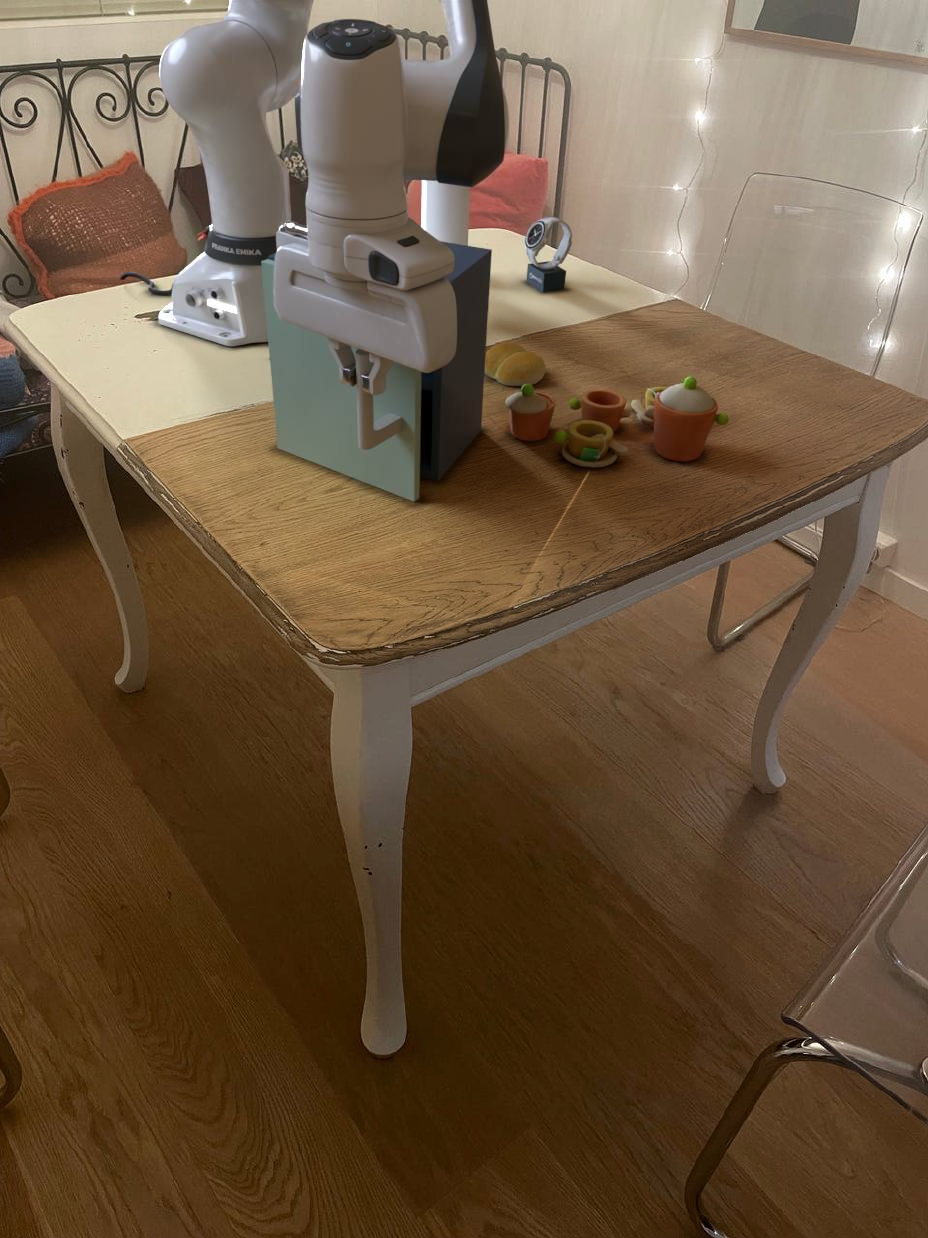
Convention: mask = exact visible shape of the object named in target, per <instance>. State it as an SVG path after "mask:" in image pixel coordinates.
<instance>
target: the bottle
mask: <svg viewBox="0 0 928 1238" xmlns="http://www.w3.org/2000/svg"><path fill="white" fill-rule="evenodd" d="M470 207H471V187H465V186H458V185H450V184H443V183H438V181H425V180H421V218H420V219H421V220H420V221H421V224H420V226H421V227H422V228H423V229H424V230H425V231H427V232H428V233H429V234H430V235H432V236H433V237H434V238H436V239H437V240H439V241H441V242H447V243H454V244H460V245H466V246H469V229H470V228H469V227H470V226H469V225H470Z"/></svg>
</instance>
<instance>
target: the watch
mask: <svg viewBox="0 0 928 1238" xmlns="http://www.w3.org/2000/svg"><path fill="white" fill-rule="evenodd" d="M555 223H559V224H560V225H561V226H562V229H563V237H562V239H561V241H560V243H559V244H558V245H559V246H558V248H557V249H556V251H555V253H554V255H553V259H551V260H550V261H549V260H547V261H540V262H538V261H537V259H536V258H537V256H538V255H539V253H540V251H541V250H543V248H545V246H546V245H547V244H549V240H550V236H551V231H552V229H553V227H554V225H555ZM572 241H573V232H572V229H571V227H570V225H569V224H568V223H567V222H566V221H563V220H562V219H560V218H558V217H555V216H546V217H544V218H541V219H538V220H536V221H535V222H533V223H531V225H530V227H528V230H527V231H526V233H525V236H524V246H525V252H526V256H527V258H528V260H529V262H531V263H527V268H526V269H527V270H526V280H525V281H526V284H529V285H530V286H532V287H533V288H535V289H536V290H537V291H538V290H539V292H541V293H549V292H556V291H557V292H558V291H563V290H565V286H566V277H567V270H565V269H564V268H563V267H560V265H563V262H564V261H565V259H566V258H567V256H568V255H569V253H570V250H571V247H572V244H573V242H572Z"/></svg>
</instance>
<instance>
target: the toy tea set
mask: <svg viewBox="0 0 928 1238" xmlns="http://www.w3.org/2000/svg"><path fill="white" fill-rule="evenodd" d="M644 395H645V398H644V401H645V403H644V404H643V402H642V401H641V400H639V399H632V400H631V403H630V406H631V408H632V409H633V410H634V411H635V412H636V416H637V418H638V420H639V422H641V423H643V424H644V425H646V426H648V427H651V428H653V449H654V451H655V453H656V454H657V455H659V456H660V457H662V458H664V459H666V460H669V461H673V462H691V461H694V460H697V458H699V457H700V456H701V454H702V452H703V450H704V447H705V445H706V442H707V439H708V437H709V434H710V432H711V429H712V426H713V424H714V422H716V424H717V425H718V426H722V427H723V426H725V425H728V423H729V421H730V416H729V415H728V414H727V413H726V412H720V413H718V410H719V405H718V402H717V400H716V399H715V398H714V397H712V396H711V394H710V393H709V392H708V391H707V390H706V389H704V388H703V387H701V386H700V385H698V382H697V379H696V378H695V377H694V376H687V377H686V378H685V379H684V381H683V382H680V383H676V384H674V385H671V386H654V387H651V388H646V391H645V394H644ZM504 403H505V406H506V407H507V409H508V412H509V425H510V433H511V434H512V436H513V437H514V438H516V439H518V440H521V441H525V442H537V441H540V440H543V439H545V438H546V437H547V436H548V433H549V430H550V426H551V422H552V419H553V416H554V413H555V409H556V408H555V407H556V404H557V402H556V399H555V398H554V397H553V396H552V395H550V394H547V393H545V392H541V391H538V390H537V391H536V390H535V387H534V386H533V384H532V385H531V384H524V385H523V386H521V388H520V391H517V392H514V393H512V394H510V396H508V397H507V398H506V400H505V402H504ZM626 404H627V399H626V397H625V395H624V394H621V393H620V392H618V391H615V390H611V389H606V388H594V389H593V388H591V389H588V390H585V391H583V392H582V394H581V396H580V399H579V398H578V397H574V398H571V399H570V400H569V402H568V407H569V409H570V410H572V411H577V410H580V409H581V419H580V420H577V421H574V422H572V423H570V424H569V426H568V428H567V432H566V430H561V429H560V430H557V431H556V432H555V433H554V441H555V442H556V443H557V444H562V447H561V455H562V457H563V458H564V459H565V460H566V461H568V463H569V462H570V463H571V464H574V465H576V466H580V467H585V468H602V467H603V468H604V467H606V466H610V465H611V464H613V463H614V462H615V461H616V460H617V458H618V457H622V456H626V455H627V450H628V449H627V447H626V446H624V445H623V444H620V443H619V442H617V441H615V440H613V437H614V432H617V430H618V429H619V427H620V423H621V419H625V418H630V417H631V414H632V413H631V410H630V409H625V408H626Z"/></svg>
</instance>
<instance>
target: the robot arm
mask: <svg viewBox="0 0 928 1238" xmlns="http://www.w3.org/2000/svg"><path fill="white" fill-rule="evenodd" d="M314 1H315V0H229V6H228V9H227V11H226V14H225V16H224V17H223V18H222V19H221V21H219V22H212V23H206V24H201V25H196V26H193V27H191V28H189V29H188V30H186V31H184V32H183V33H181V34H180V35H178V36H177V37H176V38H174V39H173V40H172V41H170V42H169V44H167V46H166V47H165V49H164V50H163V52H162V55H161V57H160V61H159V66H158V67H159V73H158V75H159V82H160V86H161V90H162V94H163V95H164V97H165V100H166V101H167V103H168V105H169V106H170V108H171V109H172V110H173V111H174V112H175V114H177V116H179V118H181V119H182V120H183V121H184V122H185V124H186V125H187V127H188V129H189V131H190V133H191V134H192V137H193V139H194V142H195V145H196V147H197V150H198V153H199V156H200V158H201V161H202V166H203V170H204V174H205V180H206V185H207V192H208V201H209V210H210V217H211V225H209V226H207V227H205V228H204V230H203V231H199V232H198V233H196V236H199V237H198V238H197V242H198V243H200V242H203V241H206V242H205V245H204V250H203V252H202V253H201V254H200V255H199V256H197V257H196V258H195V259H194V260H193V261H192V262H190V263H189V264H188V265H187V266H186V267H184V269H182V270H180V272H179V273H178V274H177V275H176V276H175V277H174V279H173V282H172V285H171V288H170V289H168V290H161V289H156V288H155V286H156V285H155V283H154V282H153V281H152V280H150V279H149V278H147V277H146V276H144V275H142V274H140V273H137V272H134V271H133V272H132V271H126V272H124V273H122V274H121V275H120V276H119V280H121V281H123V280H126V279H127V278H128V277H131V278H135V279H138V280H140V281H142V282H143V283H146V284H147V285H148V287H147V289H148V292H150V293H151V294H155V295H157V296H171V302H170V303H169V304H168V305H166V306H165V307H164V308H163V309H161V310H160V311H159V314H158V317H157V319H158V321H157V323H158V324H159V325H161V326H164V327H167V328H171V329H173V330H176V331H179V332H182V333H186V334H189V335H190V336H191V335H192V336H195V337H198V338H200V339H204V340H206V341H207V340H208V341H210V342H214V343H216V344H220V345H222V346H226V347H237V346H243V345H248V344H254V343H268V333H267V321H266V310H265V298H264V287H263V276H262V264H261V261H263V260H266V259H268V256H270V255H272V254H274V253H276V255H275V261H274V279H273V293H274V307H275V310H276V312H277V314H278V316H279V318H280V319H281V320H282V321H284V322H287V323H290V324H293V325H295V326H298V327H301V328H304V329H306V330H309V331H312V332H315V333H317V334H320V335H323V336H326V337H328V342H329V349H330V351H331V353H332V355H333V357H334V359H335V361H336V363H337V365H338V366H339V377H340V382H341V383H344V384H346V385H349V386H352V387H354V386H355V385H357V382H356V360H355V357H354V354H353V351H352V349H351V346H353V347H356V348H358V349H361V350H364V351H367V352H369V361H370V362H371V363H374V366H373V368H372V370H371V372H370V373H366V374H364V375H362V383H363V386H362V389H363V391H365V392H367V393H370V394H372V395H375V396H377V395H379V394H381V393H383V392H384V391H385V389H386V374H387V373H388V371H389V369H390V368H391V366H392V364H393V362H397V363H399V364H402V365H405V366H408V367H410V368H413V369H416V370H419V371H421V372H424V373H430V372H432V371H435V370H437V369H439V368H441V367H443V366H445V365H447V364H448V363H449V362H450V361H451V360H452V358H453V357H454V356H455V353H456V346H457V307H456V298H455V293H454V290H453V287H452V285H451V284H450V282H449V281H448V280H447V279H446V278H445V276H447V275H449V274H451V273H452V272H453V270H454V265H455V257H454V253H453V252H452V250H451V249H450V248H448V247H447V246H446V245H444V244H443V243H441V242H440V241H439V240H437V239H436V238H434V237H433V236H432V235H430V234H429V233H428V232H427V231H425V230H424V229H423V228H422V227H421V225H420V224H418V223H417V222H416V220H414V219H413V218H411V217H409V199H408V194H407V191H406V188H405V180H407V181H422V180H425V181H438V183H443V184H450V185H458V186H465V187H470V189H471V188H472V189H473V188H474V187H476V186H478V184H480V183H482V182H483V181H484V180H486V179H487V178H488V177H489V176H490V175H492V174H493V173H494V172H495V171H496V170H497V169H498V168H499V167H500V166H501V165H502V164H503V163H504V160H505V155H506V152H507V148H508V144H509V137H510V112H509V105H508V99H507V95H506V91H505V89H504V86H503V82H502V77H501V73H500V67H499V64H498V63H499V62H498V59H497V54H496V50H495V48H496V47H495V43H494V35H493V29H492V23H491V17H490V10H489V3H488V0H437V1H438V2H439V4H440V5H441V8H442V12H443V17H444V23H445V24H444V25H445V31H446V37H447V44H448V51H449V56H448V57H447V58H444V59H438V60H430V59H429V60H428V59H426V60H425V59H403V55H402V48H401V47H402V46H401V43H400V39H399V36H398V35H397V33H396V32H395V31H394V30H392V29H391V28H390V27H388V26H386V25H384V24H380V23H378V22H376V21H374V20H373V21H372V20H367V19H359V18H342V19H334V20H332V21H328V22H327V21H326V22H322V23H319V24H318V25H316V26H315V27H313V28H311V29H310V30H309V24H310V18H311V14H312V13H311V12H312V8H313V5H314ZM293 99H294V114H295V117H294V118H295V131H296V143H297V144H296V145H297V150H298V151H299V153H300V155H302V157H303V158H304V160H305V164H306V168H307V176H308V184H307V190H306V193H305V216H306V219H305V220H306V225H305V224H301V223H299V222H298V221H294V220H292V206H291V205H292V204H291V191H290V189H291V188H290V175H289V169H288V167H287V164H286V163H285V161H284V160H283V159H282V158H281V157H280V156H278V154H277V152H276V150H275V148H274V147H275V146H274V145H273V141H272V139H271V136H270V132H269V127H268V124H267V114H268V113H271V112H273V111H276V110H279V109H281V108H283V107H285V106H286V105H287V104H288V103H290V102H291V101H292V100H293Z"/></svg>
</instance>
